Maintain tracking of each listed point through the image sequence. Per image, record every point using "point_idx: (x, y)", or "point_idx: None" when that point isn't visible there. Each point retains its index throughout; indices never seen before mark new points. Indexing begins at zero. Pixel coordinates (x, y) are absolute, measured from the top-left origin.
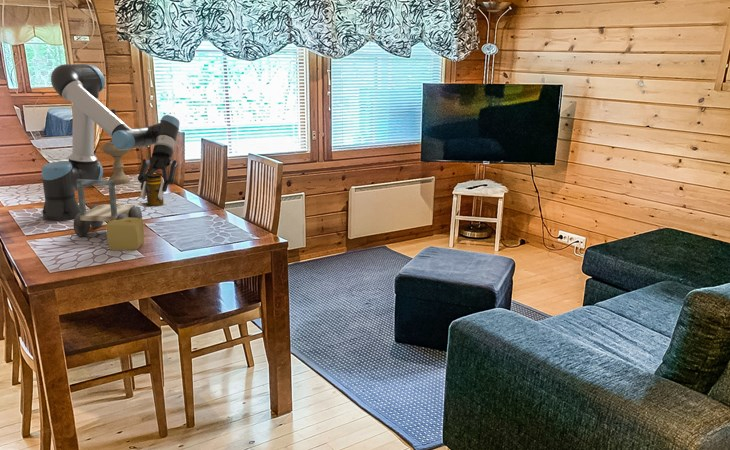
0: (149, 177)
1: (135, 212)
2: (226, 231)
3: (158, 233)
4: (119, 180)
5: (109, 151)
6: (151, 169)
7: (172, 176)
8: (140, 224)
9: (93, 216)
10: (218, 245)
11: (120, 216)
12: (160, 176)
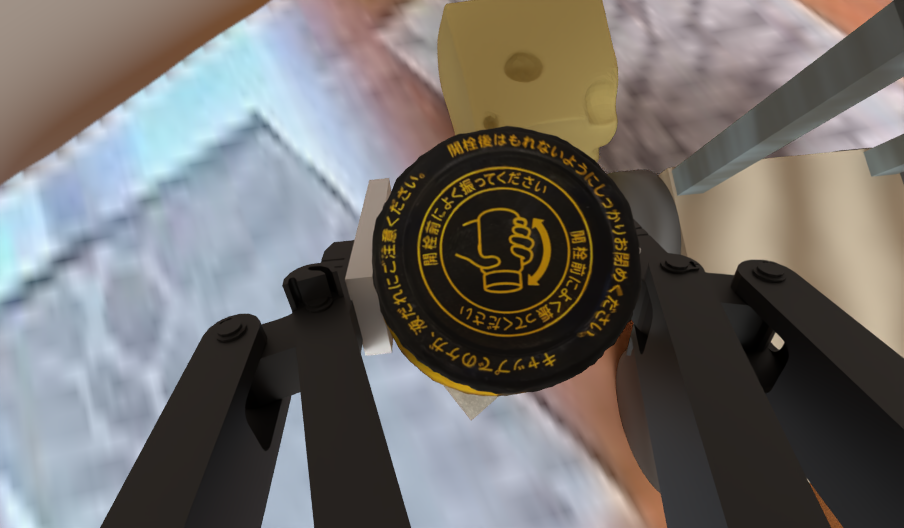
0: (522, 132)
1: None
2: (124, 460)
3: None
4: None
5: None
6: (727, 490)
7: (176, 406)
8: (467, 115)
9: (803, 157)
10: (116, 219)
11: (651, 194)
12: (373, 271)
